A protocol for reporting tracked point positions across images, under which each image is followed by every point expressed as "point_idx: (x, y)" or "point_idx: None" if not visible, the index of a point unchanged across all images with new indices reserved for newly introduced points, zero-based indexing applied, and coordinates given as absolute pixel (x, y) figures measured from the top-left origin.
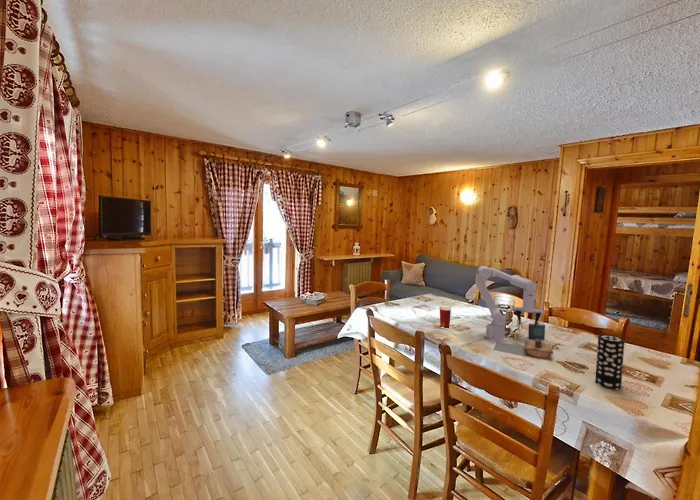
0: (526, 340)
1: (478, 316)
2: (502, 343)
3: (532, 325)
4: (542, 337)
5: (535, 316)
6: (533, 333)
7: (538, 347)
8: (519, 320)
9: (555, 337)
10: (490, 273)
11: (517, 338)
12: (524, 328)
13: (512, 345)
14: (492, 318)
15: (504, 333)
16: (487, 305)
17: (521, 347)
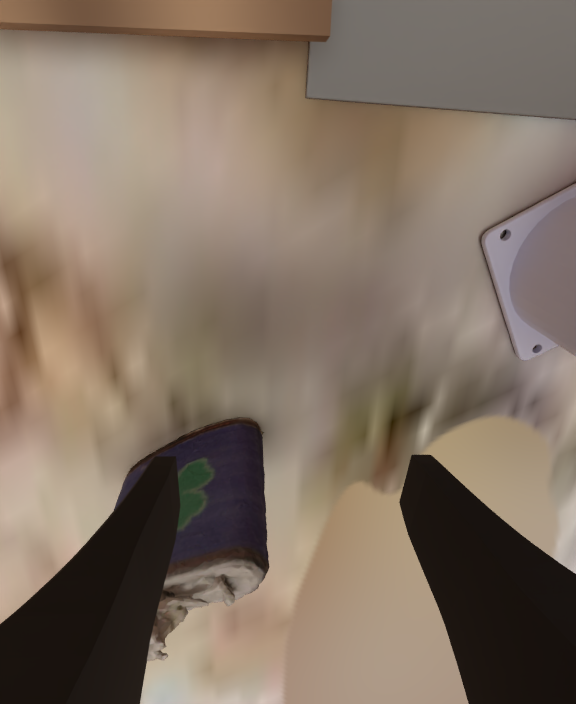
0: (303, 12)
1: None
2: (573, 80)
3: (220, 552)
4: (136, 476)
5: (75, 685)
6: (213, 470)
7: None
8: (467, 500)
9: (55, 557)
10: None
11: (359, 383)
12: (287, 619)
13: (457, 61)
14: None
15: (562, 282)
16: None
17: (349, 36)
